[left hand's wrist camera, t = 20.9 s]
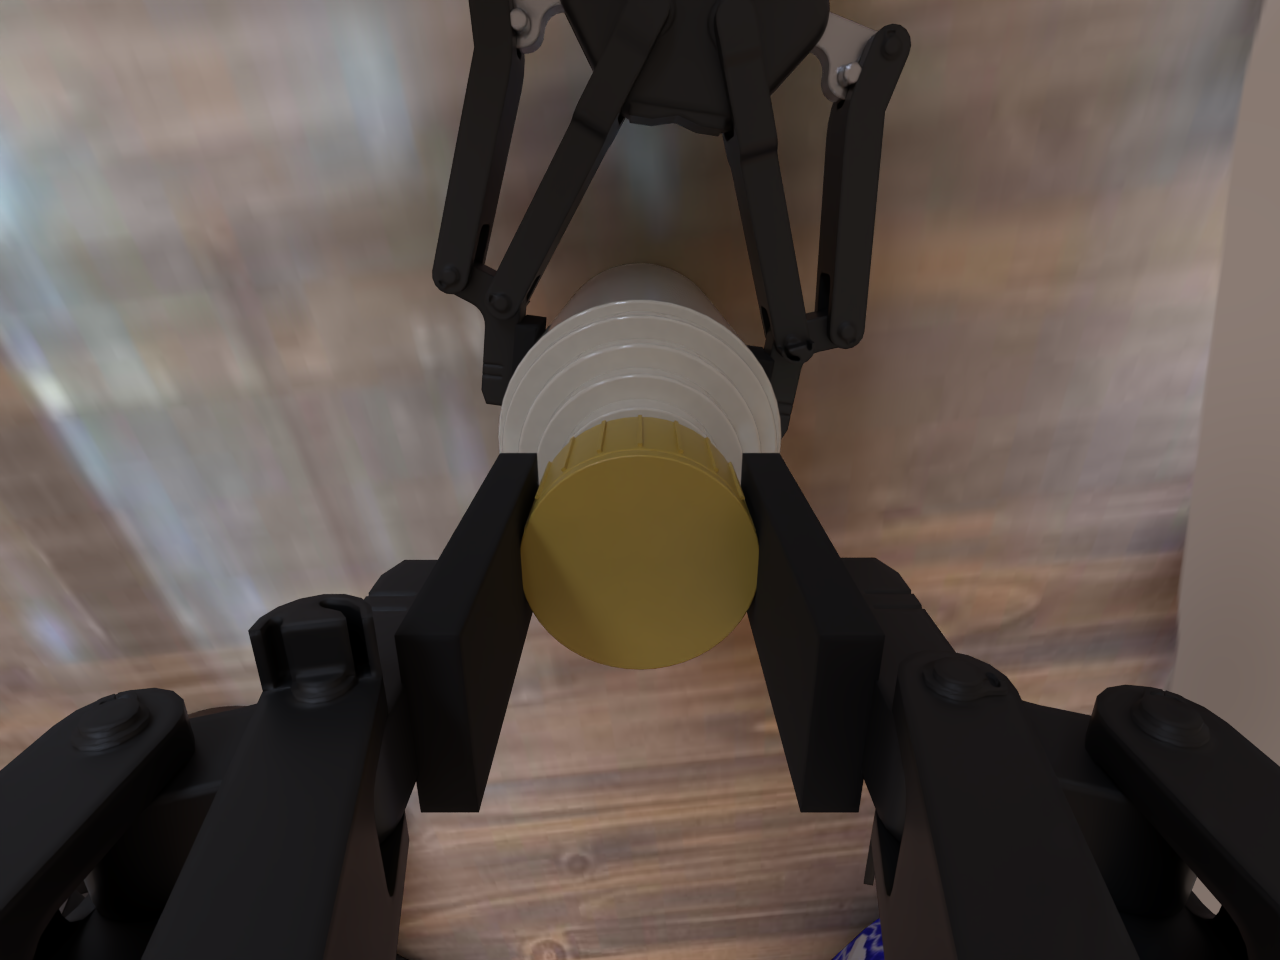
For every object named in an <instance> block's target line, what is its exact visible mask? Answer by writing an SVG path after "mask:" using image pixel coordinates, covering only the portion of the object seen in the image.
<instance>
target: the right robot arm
mask: <svg viewBox="0 0 1280 960" xmlns="http://www.w3.org/2000/svg"><path fill="white" fill-rule="evenodd" d="M469 7H470V15H471V24H472V32H473V40H474V52H473V57H472V62H471V68H470V73H469V78H468V84H467V89H466V94H465V100H464V105H463V110H462V116H461V121H460V126H459V132H458V137H457V142H456V148H455V153H454V158H453V164H452V169H451V174H450V180H449V185H448V190H447V196H446V201H445V206H444V212H443V217H442V222H441V228H440V233H439V238H438V244H437V249H436V254H435V260H434V265H433V270H432V278H433V281H434V283H435V285H436V286H437V287H438V289H439V290H441V291H442V292H444V293H446V294H454V295H456V296H458V297H460V298H462V299H464V300H466V301H468V302H470V303H472V304H473V305H475V306H476V307H477V308H478V309H479V310H480V311H481V313H482V315H483V317H484V320H485V339H484V357H483V376H482V392H483V395H484V398H485V401H486V404H493V405H500V406H502V402H503V398H504V395H505V393H506V390H507V387H508V384H509V382H510V380H511V378H512V376H513V374H514V372H515V370H516V368H517V366H518V365H519V364H520V362H521V361H522V359H523V358H524V357H525V355H526V354H527V352H528V351H529V350H530V349H531V347H532V346H533V345H534V344H535V342H536V341H537V340H538V339H539V337H540V336H541V335H542V334H543V333H544V331H545V329H546V318H547V317H540V316H533V315H526V306H527V305H528V303H529V302H530V301H529V299H530V298H531V296H532V294H533V292H534V290H535V288H536V286H537V284H538V282H539V280H540V278H541V276H542V275H543V273H544V271H545V269H546V267H547V265H548V263H549V261H550V259H551V257H552V255H553V253H554V251H555V250H556V248H557V246H558V244H559V242H560V240H561V238H562V236H563V234H564V232H565V230H566V228H567V226H568V225H569V223H570V221H571V219H572V217H573V215H574V213H575V211H576V209H577V207H578V205H579V203H580V202H581V200H582V198H583V196H584V194H585V192H586V190H587V188H588V186H589V184H590V182H591V180H592V178H593V177H594V175H595V173H596V171H597V169H598V167H599V165H600V163H601V161H602V159H603V157H604V155H605V153H606V152H607V150H608V148H609V147H610V145H611V144H612V142H613V140H614V138H615V137H616V135H617V133H618V131H619V129H620V127H621V125H622V123H623V121H624V119H625V118H627V119H629V121H630V123H635V124H641V125H648V126H655V125H662V124H669V123H676V124H679V125H681V126H683V127H685V128H687V129H689V130H691V131H693V132H695V133H700V134H707V135H713V136H719V135H720V134H721V133H722V135H723V140H724V145H725V150H726V154H727V158H728V162H729V164H730V167H731V170H732V175H733V180H734V185H735V190H736V195H737V200H738V205H739V210H740V215H741V220H742V224H743V229H744V234H745V239H746V244H747V249H748V254H749V259H750V264H751V269H752V274H753V279H754V284H755V289H756V294H757V299H758V304H759V309H760V314H761V319H762V323H763V328H764V333H765V337H766V342H765V347H764V349H763V348H762V347H756V346H749V345H747V347H748V348H749V349H750V350H751V352H752V353H753V354H754V356H755V357H756V359H757V360H758V361H759V363H760V364H761V366H762V367H763V369H764V371H765V373H766V375H767V377H768V379H769V381H770V383H771V385H772V388H773V391H774V394H775V397H776V400H777V404H778V409H779V414H780V420H781V439H782V437H783V436H784V434H785V433H786V431H787V429H788V425H789V420H790V415H791V411H792V407H793V402H794V398H795V394H796V389H797V385H798V380H799V376H800V371H801V368H802V365H803V363H804V362H807V361H808V360H809V359H810V358H811V357H812V356H813V354H814V353H817V352H820V351H824V350H829V349H834V348H838V347H839V348H843V349H848V348H852V347H854V346H856V345H857V344H858V343H859V342H860V341H861V339H862V338H863V334H864V330H865V319H866V308H867V298H868V287H869V276H870V266H871V255H872V244H873V234H874V223H875V212H876V202H877V191H878V180H879V170H880V159H881V148H882V138H883V127H884V116H885V110H886V108H887V106H888V103H889V101H890V98H891V96H892V94H893V91H894V89H895V86H896V84H897V82H898V79H899V77H900V74H901V72H902V69H903V67H904V65H905V62H906V60H907V57H908V55H909V52H910V47H911V41H910V36H909V34H908V32H907V30H906V29H905V28H904V27H902V26H901V25H897V24H890V25H887V26H884V27H883V28H882V29H880V30H879V31H875V30H873V29H870V28H868V27H866V26H863V25H861V24H858V23H856V22H853V21H851V20H849V19H846V18H844V17H841V16H839V15H836V14H834V13H832V12H830V5H829V0H469ZM563 12H564V13H565V15H566V17H567V19H568V21H569V23H570V25H571V27H572V29H573V31H574V33H575V35H576V38H577V40H578V42H579V44H580V46H581V48H582V50H583V52H584V54H585V56H586V58H587V60H588V62H589V64H590V66H591V68H592V70H593V74H592V76H591V78H590V80H589V82H588V84H587V86H586V88H585V90H584V92H583V94H582V96H581V98H580V100H579V102H578V104H577V106H576V109H575V111H574V114H573V117H572V120H571V123H570V125H569V127H568V129H567V131H566V133H565V135H564V137H563V139H562V141H561V143H560V145H559V147H558V149H557V151H556V153H555V155H554V157H553V159H552V161H551V163H550V165H549V167H548V169H547V171H546V173H545V175H544V177H543V179H542V181H541V183H540V185H539V187H538V189H537V192H536V194H535V196H534V198H533V200H532V202H531V204H530V206H529V208H528V210H527V212H526V214H525V216H524V218H523V220H522V222H521V224H520V226H519V228H518V230H517V232H516V234H515V236H514V238H513V240H512V242H511V244H510V246H509V248H508V250H507V252H506V254H505V256H504V258H503V260H502V262H501V264H500V266H499V268H498V270H497V271H496V270H494V269H492V268H490V267H488V266H486V265H484V264H485V260H486V255H487V250H488V246H489V241H490V236H491V232H492V227H493V222H494V218H495V213H496V208H497V203H498V199H499V194H500V189H501V185H502V180H503V175H504V171H505V166H506V161H507V157H508V152H509V147H510V142H511V138H512V133H513V128H514V124H515V119H516V114H517V110H518V105H519V100H520V96H521V91H522V85H523V78H524V64H525V56H524V54H528V53H532V52H534V51H536V50H538V48H539V47H540V46H541V44H542V42H543V40H544V33H545V27H546V25H547V22H548V21H549V20H550V18H551V17H552V16H554V15H556V14H558V13H563ZM809 52H810V53H812V54H814V55H815V56H816V57H817V58H818V59H819V60H820V63H821V65H822V80H821V88H822V92H823V94H824V96H825V97H826V98H827V99H828V100H830V101H832V102H833V105H832V108H831V113H830V117H829V122H828V128H827V137H826V151H825V166H824V180H823V195H822V210H821V225H820V240H819V255H818V270H817V285H816V299H815V312H810V313H805V307H804V302H803V296H802V290H801V285H800V279H799V274H798V268H797V262H796V257H795V251H794V246H793V240H792V234H791V229H790V223H789V218H788V212H787V206H786V201H785V195H784V190H783V184H782V179H781V173H780V167H779V162H778V155H777V146H778V142H777V133H776V127H775V121H774V116H773V110H772V104H771V99H770V96H771V95H772V93H773V92H774V91H775V90H776V89H777V88H778V87H779V86H780V85H781V83H782V82H783V81H784V80H785V79H786V78H787V77H788V76H789V75H790V74H791V72H792V71H793V70H794V69H795V68H796V67H797V66H798V65H799V64H800V62H801V61H802V60H803V59H804V58H805V57H806V56H807V55H808V54H809Z"/></svg>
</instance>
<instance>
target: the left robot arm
mask: <svg viewBox="0 0 1280 960" xmlns="http://www.w3.org/2000/svg"><path fill="white" fill-rule="evenodd" d="M538 488H539V477H538V460H537V453H500V454H499V456H498V458H497V459H496V461H495V463H494V465H493V466H492V468H491V470H490V472H489V473H488V475H487V477H486V478H485V480H484V482H483V484H482V485H481V487H480V489H479V490H478V492H477V494H476V496H475V497H474V499H473V501H472V502H471V504H470V506H469V508H468V509H467V511H466V513H465V514H464V516H463V518H462V520H461V521H460V523H459V525H458V526H457V528H456V530H455V532H454V533H453V535H452V537H451V538H450V540H449V542H448V544H447V545H446V547H445V549H444V550H443V552H442V554H441V556H440V557H439V559H438V560H404V561H402V562H401V563H399V564H398V565H396V566H395V567H393V568H392V569H390V570H389V571H387V572H385V573H384V574H382V575H381V576H380V578H379V579H378V581H377V582H376V583H375V585H374V586H373V588H372V589H371V590H370V592H369V596H366V597H365V599H364V600H363V599H362V598H359V597H355V596H351V595H346V594H323V595H317V596H312V597H307V598H301V599H298V600H295V601H293V602H290V603H287V604H285V605H282V606H279V607H277V608H275V609H274V610H272V611H270V612H269V613H267V614H265V615H264V616H262V617H260V618H259V619H258V620H257V621H256V623H255V624H254V625H253V626H252V627H251V628H250V629H249V630H248V632H249V636H250V640H251V644H252V648H253V652H254V656H255V661H256V665H257V669H258V673H259V677H260V681H261V686H262V690H263V692H262V694H261V696H260V699H259V701H258V703H257V704H254V705H250V706H226V707H218V708H211V709H206V710H202V711H198V712H195V713H192V714H189V715H188V714H187V710H186V707H185V704H184V700H183V699H182V698H181V697H180V696H179V695H177V694H176V693H175V692H174V691H170V690H164V689H158V688H148V689H138V690H129V691H125V692H120V693H118V694H116V695H115V694H112V695H109V696H106V697H103V698H101V699H99V700H97V701H96V702H94V703H91V704H89V705H87V706H85V707H83V708H80V709H78V710H76V711H75V712H73V713H72V714H70V715H69V716H67V717H66V718H64V719H63V720H61V721H60V722H58V723H57V724H56V725H54V726H53V727H52V728H50V729H49V730H48V731H47V732H46V733H44V734H43V735H42V736H41V737H40V738H39V739H37V740H36V741H35V742H34V743H33V744H31V745H30V746H29V747H28V748H27V749H26V750H24V751H23V752H22V753H21V754H20V755H18V756H17V757H16V758H15V759H14V760H13V761H11V762H10V763H9V764H8V765H7V766H5V767H4V768H3V769H2V770H1V771H0V960H408V959H406V958H404V957H402V956H400V955H398V954H396V952H397V943H398V934H399V925H400V917H401V908H402V899H403V890H404V881H405V872H406V863H407V855H408V846H409V835H408V828H407V822H406V816H405V808H406V806H407V803H408V800H409V798H410V795H411V793H412V790H413V788H414V785H415V783H417V789H418V796H419V803H420V809H421V812H479V810H480V806H481V802H482V799H483V795H484V791H485V787H486V784H487V780H488V776H489V772H490V769H491V765H492V761H493V758H494V754H495V750H496V746H497V743H498V739H499V735H500V732H501V728H502V724H503V720H504V717H505V713H506V709H507V705H508V702H509V698H510V694H511V691H512V687H513V683H514V679H515V676H516V672H517V668H518V664H519V661H520V657H521V653H522V650H523V646H524V642H525V638H526V635H527V631H528V627H529V623H530V620H531V616H532V612H533V611H532V610H531V608H530V605H529V603H528V601H527V599H526V597H525V594H524V590H523V580H522V565H521V550H520V545H521V540H522V536H523V533H524V527H525V524H526V522H527V519H528V516H529V513H530V511H531V508H532V505H533V503H534V500H535V496H536V493H537V490H538ZM741 489H742V491H743V494H744V497H745V502H746V505H747V507H748V510H749V513H750V515H751V518H752V521H753V524H754V526H755V529H756V534H757V537H758V542H759V559H758V573H757V587H756V593H755V596H754V598H753V600H752V602H751V605H750V607H749V609H748V610H747V614H748V618H749V621H750V625H751V629H752V633H753V636H754V640H755V644H756V647H757V651H758V655H759V659H760V662H761V666H762V670H763V674H764V677H765V681H766V685H767V688H768V692H769V696H770V700H771V703H772V707H773V711H774V715H775V718H776V722H777V726H778V729H779V733H780V737H781V741H782V744H783V748H784V752H785V756H786V759H787V763H788V767H789V770H790V774H791V778H792V782H793V785H794V789H795V793H796V797H797V800H798V804H799V808H800V811H801V812H859V806H860V800H861V793H862V786H863V780H865V783H866V785H867V788H868V790H869V793H870V796H871V798H872V801H873V803H874V806H875V808H876V809H875V816H874V822H873V828H872V834H871V840H870V846H869V852H868V859H867V865H866V871H865V878H864V884H868V885H873V882H874V876H875V880H876V888H877V897H878V906H879V915H880V924H881V932H882V941H883V950H884V959H885V960H1280V766H1278V765H1277V764H1276V763H1275V762H1274V761H1272V760H1271V759H1270V758H1269V757H1268V756H1266V755H1265V754H1264V753H1263V752H1262V751H1260V750H1259V749H1258V748H1257V747H1256V746H1254V745H1253V744H1252V743H1251V742H1250V741H1249V740H1247V739H1246V738H1245V737H1244V736H1243V735H1241V734H1240V733H1239V732H1238V731H1237V730H1235V729H1234V728H1233V727H1232V726H1231V725H1229V724H1228V723H1227V722H1226V721H1224V720H1223V719H1221V718H1220V717H1218V716H1217V715H1215V714H1214V713H1212V712H1211V711H1209V710H1208V709H1206V708H1205V707H1203V706H1201V705H1199V704H1196V703H1194V702H1192V701H1190V700H1188V699H1185V698H1184V697H1182V696H1180V695H1178V694H1175V693H1172V692H1169V691H1162V689H1157V688H1152V687H1144V686H1134V685H1121V686H1115V687H1109V688H1106V689H1105V690H1104V691H1103V692H1102V693H1100V694H1099V695H1098V696H1097V698H1096V702H1095V705H1094V708H1093V712H1092V715H1091V716H1090V715H1085V714H1080V713H1076V712H1071V711H1066V710H1061V709H1056V708H1051V707H1046V706H1041V705H1037V704H1033V703H1030V702H1026V701H1022V700H1021V697H1020V695H1019V693H1018V691H1017V689H1016V688H1015V687H1014V685H1013V684H1012V683H1011V682H1010V680H1009V679H1008V678H1007V676H1005V675H1004V674H1002V673H1001V672H1000V671H998V670H997V669H995V668H994V667H992V666H991V665H990V664H987V663H985V662H983V661H980V660H978V659H976V658H973V657H971V656H969V655H965V654H960V653H956V652H955V651H954V649H953V648H952V647H951V645H950V644H949V642H948V641H947V640H946V638H945V637H944V635H943V634H942V633H941V631H940V630H939V628H938V627H937V626H936V624H935V623H934V622H933V620H932V619H931V617H930V616H929V615H928V613H927V612H926V610H925V609H922V605H921V603H920V602H919V601H918V599H917V598H916V597H915V595H914V594H911V590H910V588H909V587H908V585H907V584H906V583H905V581H904V580H903V578H902V577H901V576H900V574H899V573H898V572H896V571H895V570H893V569H892V568H890V567H889V566H887V565H886V564H884V563H883V562H881V561H879V560H878V559H876V558H840V556H839V555H838V553H837V551H836V550H835V548H834V546H833V544H832V543H831V541H830V539H829V538H828V536H827V534H826V532H825V531H824V529H823V527H822V526H821V524H820V522H819V520H818V519H817V517H816V515H815V514H814V512H813V510H812V508H811V507H810V505H809V503H808V501H807V500H806V498H805V496H804V495H803V493H802V491H801V489H800V488H799V486H798V484H797V483H796V481H795V479H794V477H793V476H792V474H791V472H790V471H789V469H788V467H787V465H786V464H785V462H784V460H783V459H782V457H781V455H780V453H742V469H741ZM1197 877H1198V878H1199V879H1200V880H1201V882H1202V883H1203V884H1204V885H1205V886H1206V887H1207V889H1208V890H1209V891H1210V892H1211V893H1212V894H1213V895H1214V897H1215V898H1216V899H1217V900H1218V901H1219V902H1220V903H1221V905H1222V906H1221V908H1220V910H1219V912H1218V914H1217V915H1215V914H1213V913H1212V912H1211V911H1210V910H1209V909H1208V908H1207V907H1206V906H1205V905H1204V904H1203V903H1202V902H1201V901H1200V900H1199V899H1198V897H1197V896H1196V895H1195V894H1194V893H1193V891H1192V888H1193V886H1194V883H1195V881H1196V878H1197Z"/></svg>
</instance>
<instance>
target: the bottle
mask: <svg viewBox="0 0 1280 960" xmlns="http://www.w3.org/2000/svg"><path fill="white" fill-rule="evenodd" d="M638 415H642V417H654V418H659V419H665V420H669V421H672V422H674V420H676V421H678V422H679V424H681V425H683V426H685V427H687V428H689V429H692V430H693V431H695V432H697V433H698V434H700V435H701V436H703V437H704V438H706V437H708V438H709V439H710V441H711V443H712V444H713V445H714V446H715V447H716V448H717V449H718V450H719V452H720V453H721V454H722V455H723V456H724V457H725V459H726V460H727V462H728V463H729V462H731V463H732V464H733V467H734V470H735V472H736V475H737V478H738V480H739V483H740V486H741V469H742V453H780V447H781V420H780V414H779V409H778V404H777V400H776V397H775V394H774V391H773V388H772V385H771V383H770V381H769V379H768V377H767V375H766V373H765V371H764V369H763V367H762V366H761V364H760V363H759V361H758V360H757V359H756V357H755V356H754V354H753V353H752V352H751V350H750V349H749V348H748V347H747V345H746V344H745V343H744V342H743V340H742V339H741V338H740V337H739V336H738V334H737V333H736V332H735V331H734V329H733V328H732V327H731V326H730V324H729V323H728V322H727V321H726V320H725V318H724V317H723V316H722V315H721V313H720V312H719V311H718V310H717V308H716V307H715V306H714V305H713V304H712V302H711V301H710V300H709V299H708V297H707V296H706V295H705V294H704V293H703V292H702V290H701V289H700V288H699V287H698V286H697V285H696V284H694V283H693V282H692V281H691V280H690V279H688V278H687V277H685V276H683V275H682V274H680V273H679V272H676V271H674V270H672V269H670V268H667V267H663V266H660V265H655V264H648V263H632V264H624V265H620V266H616V267H613V268H610V269H608V270H606V271H603V272H601V273H599V274H598V275H596V276H594V277H593V278H591V279H590V280H589V281H588V282H586V283H585V284H584V285H583V286H582V287H581V288H580V289H579V290H578V291H577V292H576V293H575V294H574V296H573V297H572V298H571V299H570V301H569V302H568V303H567V304H566V305H565V307H564V308H563V309H562V310H561V312H560V313H559V314H558V315H557V317H556V318H555V319H554V320H553V321H552V323H551V324H550V325H549V326H548V328H547V329H546V330H545V331H544V333H543V334H542V335H541V336H540V337H539V339H538V340H537V341H536V342H535V344H534V345H533V346H532V347H531V349H530V350H529V351H528V352H527V354H526V355H525V357H524V358H523V359H522V361H521V362H520V364H519V365H518V366H517V368H516V370H515V372H514V374H513V376H512V378H511V380H510V382H509V384H508V387H507V390H506V393H505V395H504V398H503V402H502V407H501V412H500V416H499V430H498V439H499V453H537V460H538V477H539V485H540V482H541V480H542V477H543V474H544V471H545V469H546V466H547V464H548V462H549V461H550V462H552V461H553V460H554V458H555V457H556V456H557V454H558V453H559V452H560V451H561V450H562V449H563V448H564V447H565V446H566V445H567V444H568V443H569V441H570V438H572V437H573V436H574V437H577V436H578V435H580V434H581V433H583V432H584V431H586V430H588V429H590V428H592V427H594V426H596V425H599V424H601V423H602V421H604V420H606V422H608V421H610V420H615V419H620V418H627V417H638Z"/></svg>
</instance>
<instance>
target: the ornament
mask: <svg viewBox="0 0 1280 960" xmlns="http://www.w3.org/2000/svg"><path fill="white" fill-rule="evenodd" d="M832 960H885V959H884V950H883V941H882V932H881V924H880V918H879V919H877V920H876V921H875V922H873V923H872V924H871V925H869V926H868V927H867V928H865V929H864V930H863V931H862V932H861V933H860V934H859V935H858V936H857V937H856V938H854V939H853V940H852V941H851V942H850V943H849V944H848V945H847V946H846V947H845V948H844V949H843V950H841V951H840V952H839V953H838V954H837V955H836V956H835V957H834V958H833V959H832Z"/></svg>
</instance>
